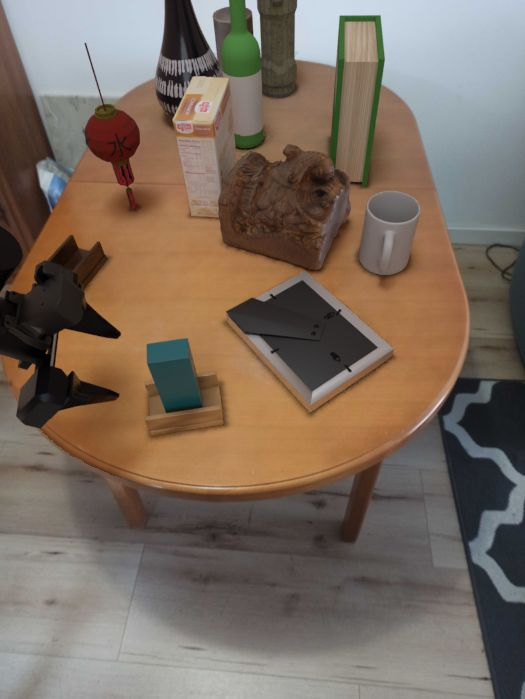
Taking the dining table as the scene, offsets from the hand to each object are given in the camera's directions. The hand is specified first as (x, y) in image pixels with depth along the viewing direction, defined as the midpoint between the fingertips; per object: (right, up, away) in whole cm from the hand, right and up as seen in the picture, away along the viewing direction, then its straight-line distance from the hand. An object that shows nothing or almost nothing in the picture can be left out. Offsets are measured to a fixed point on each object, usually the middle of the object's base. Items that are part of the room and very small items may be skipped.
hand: (118, 365), depth 61 cm
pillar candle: (+11, +74, +71) cm, 103 cm away
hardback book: (+35, +41, +45) cm, 71 cm away
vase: (+2, +57, +58) cm, 81 cm away
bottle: (+14, +48, +51) cm, 72 cm away
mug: (+38, +16, +26) cm, 49 cm away
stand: (+7, -7, +10) cm, 14 cm away
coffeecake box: (+8, +33, +40) cm, 53 cm away
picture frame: (+24, +3, +17) cm, 30 cm away
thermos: (+21, +67, +65) cm, 96 cm away
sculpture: (+22, +23, +32) cm, 46 cm away
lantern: (-8, +30, +39) cm, 49 cm away
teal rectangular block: (+7, -6, +9) cm, 13 cm away
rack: (-15, +15, +28) cm, 35 cm away
